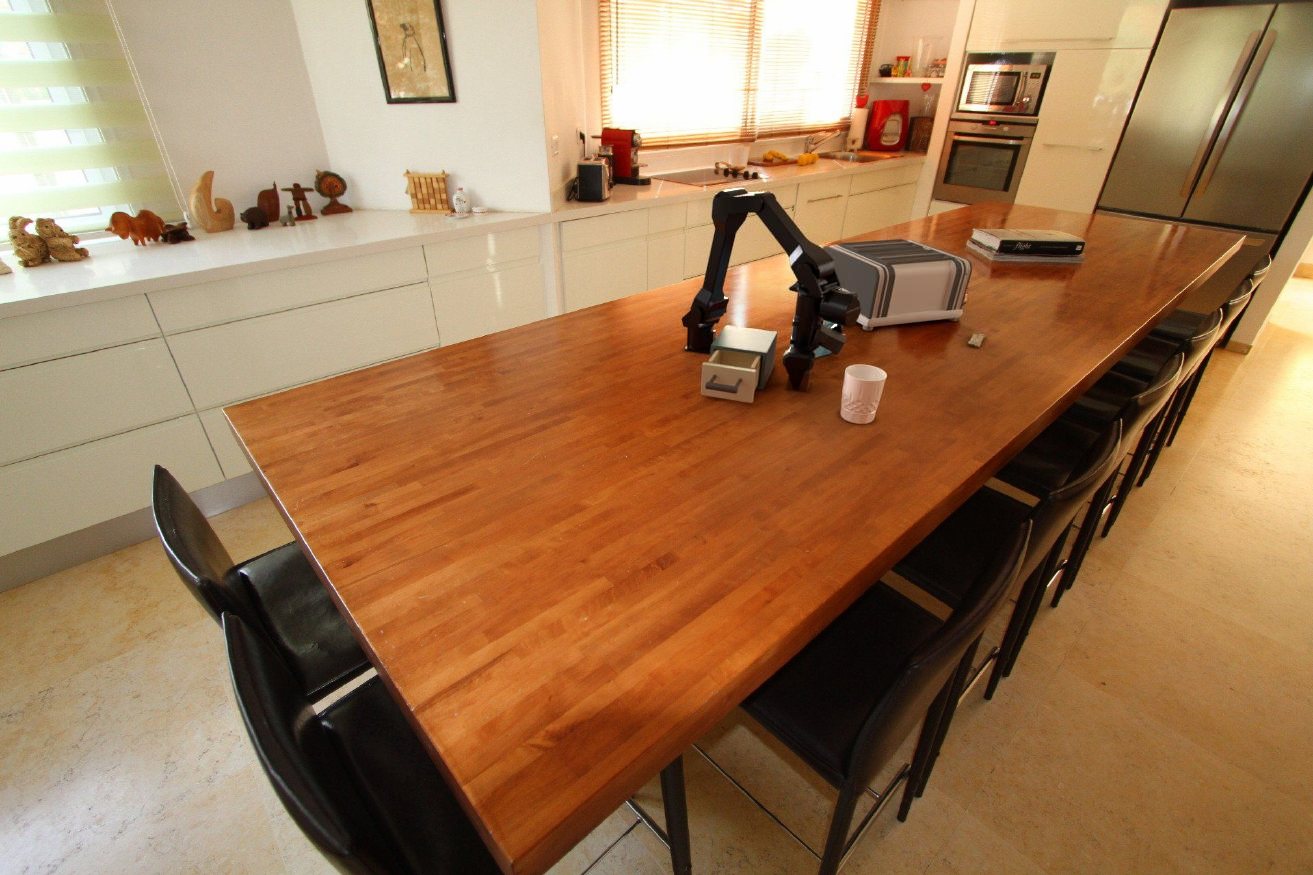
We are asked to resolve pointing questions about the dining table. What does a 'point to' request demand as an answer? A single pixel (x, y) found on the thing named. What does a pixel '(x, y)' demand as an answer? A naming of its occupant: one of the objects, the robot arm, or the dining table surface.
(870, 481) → the dining table surface
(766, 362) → the cabinet
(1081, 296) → the dining table surface
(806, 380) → the block
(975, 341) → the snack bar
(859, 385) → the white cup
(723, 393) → the drawer
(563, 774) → the dining table surface
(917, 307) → the toaster
